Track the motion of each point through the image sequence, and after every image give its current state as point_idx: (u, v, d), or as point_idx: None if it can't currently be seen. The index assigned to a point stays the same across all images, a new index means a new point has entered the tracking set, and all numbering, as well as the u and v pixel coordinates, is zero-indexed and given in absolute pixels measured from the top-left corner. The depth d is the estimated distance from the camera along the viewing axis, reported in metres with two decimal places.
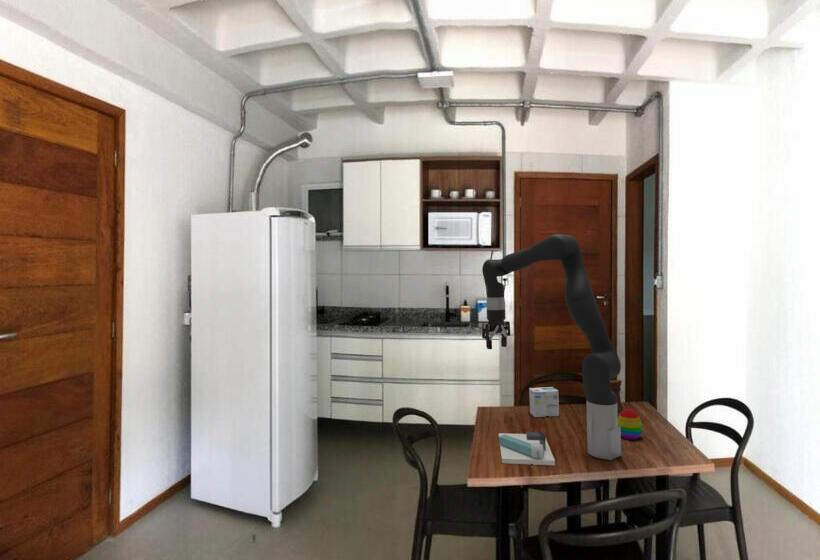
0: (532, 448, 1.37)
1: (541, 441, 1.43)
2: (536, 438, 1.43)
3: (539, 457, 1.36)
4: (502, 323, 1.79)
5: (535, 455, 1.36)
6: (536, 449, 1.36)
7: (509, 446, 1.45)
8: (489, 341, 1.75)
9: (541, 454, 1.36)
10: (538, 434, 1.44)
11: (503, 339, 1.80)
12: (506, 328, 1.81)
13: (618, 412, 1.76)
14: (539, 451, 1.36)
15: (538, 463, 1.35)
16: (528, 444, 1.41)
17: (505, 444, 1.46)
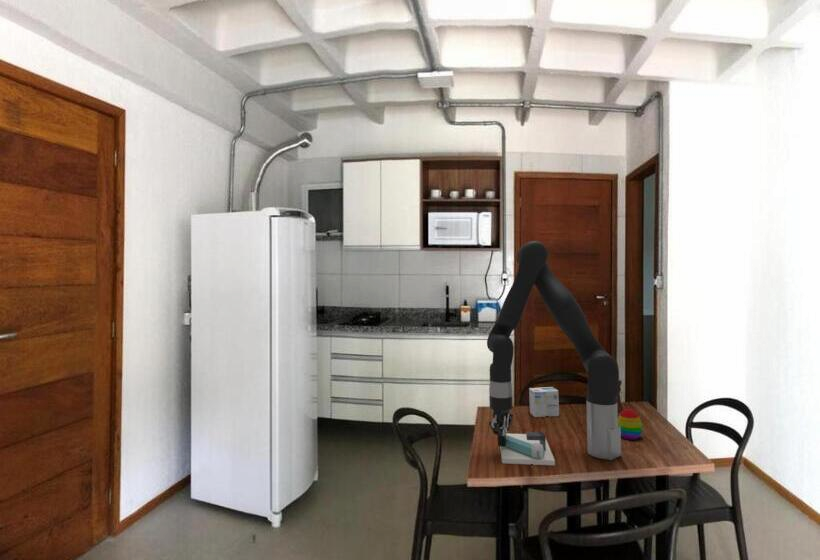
0: (532, 448, 1.37)
1: (541, 441, 1.43)
2: (536, 438, 1.43)
3: (539, 457, 1.36)
4: (508, 410, 1.46)
5: (535, 455, 1.36)
6: (536, 449, 1.36)
7: (509, 446, 1.45)
8: (502, 437, 1.43)
9: (541, 454, 1.36)
10: (538, 434, 1.44)
11: None
12: None
13: (618, 412, 1.76)
14: (539, 451, 1.36)
15: (538, 463, 1.35)
16: (528, 444, 1.41)
17: None
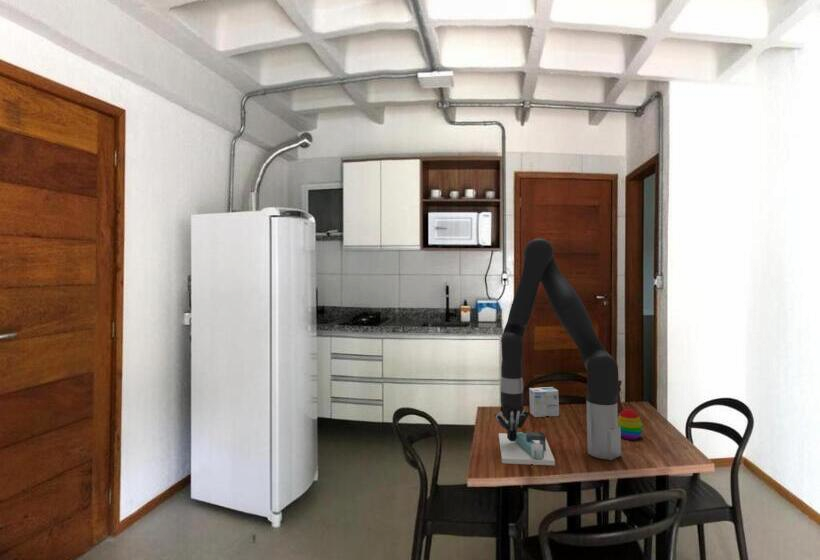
0: (531, 447, 1.38)
1: (541, 441, 1.43)
2: (536, 438, 1.43)
3: (536, 457, 1.36)
4: (520, 407, 1.49)
5: (533, 454, 1.37)
6: (533, 449, 1.36)
7: (519, 443, 1.47)
8: (510, 432, 1.48)
9: (539, 454, 1.36)
10: (538, 434, 1.44)
11: None
12: (521, 418, 1.50)
13: (618, 412, 1.76)
14: (536, 450, 1.36)
15: (538, 463, 1.35)
16: (533, 443, 1.41)
17: (517, 441, 1.49)
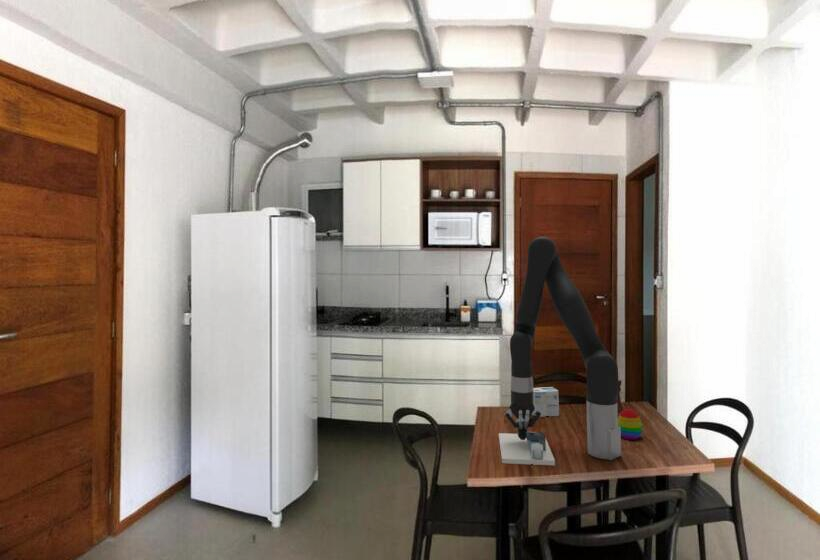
0: (531, 446, 1.38)
1: (541, 441, 1.43)
2: (536, 438, 1.43)
3: (534, 457, 1.36)
4: (531, 407, 1.49)
5: (532, 454, 1.37)
6: (532, 448, 1.37)
7: (528, 442, 1.48)
8: (519, 430, 1.49)
9: (537, 454, 1.36)
10: (538, 434, 1.44)
11: None
12: (532, 417, 1.50)
13: (618, 412, 1.76)
14: (534, 450, 1.36)
15: (538, 463, 1.35)
16: None
17: None
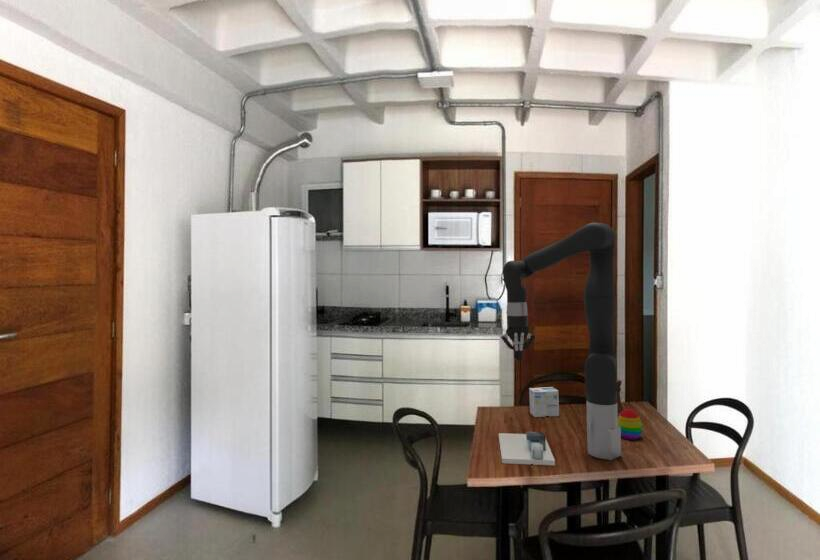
0: (531, 446, 1.38)
1: (541, 441, 1.43)
2: (536, 438, 1.43)
3: (534, 457, 1.36)
4: (525, 330, 1.62)
5: (532, 454, 1.37)
6: (532, 448, 1.37)
7: (528, 442, 1.48)
8: (515, 352, 1.62)
9: (537, 454, 1.36)
10: (538, 434, 1.44)
11: None
12: (527, 340, 1.63)
13: (618, 412, 1.76)
14: (534, 450, 1.36)
15: (538, 463, 1.35)
16: None
17: (528, 440, 1.49)
